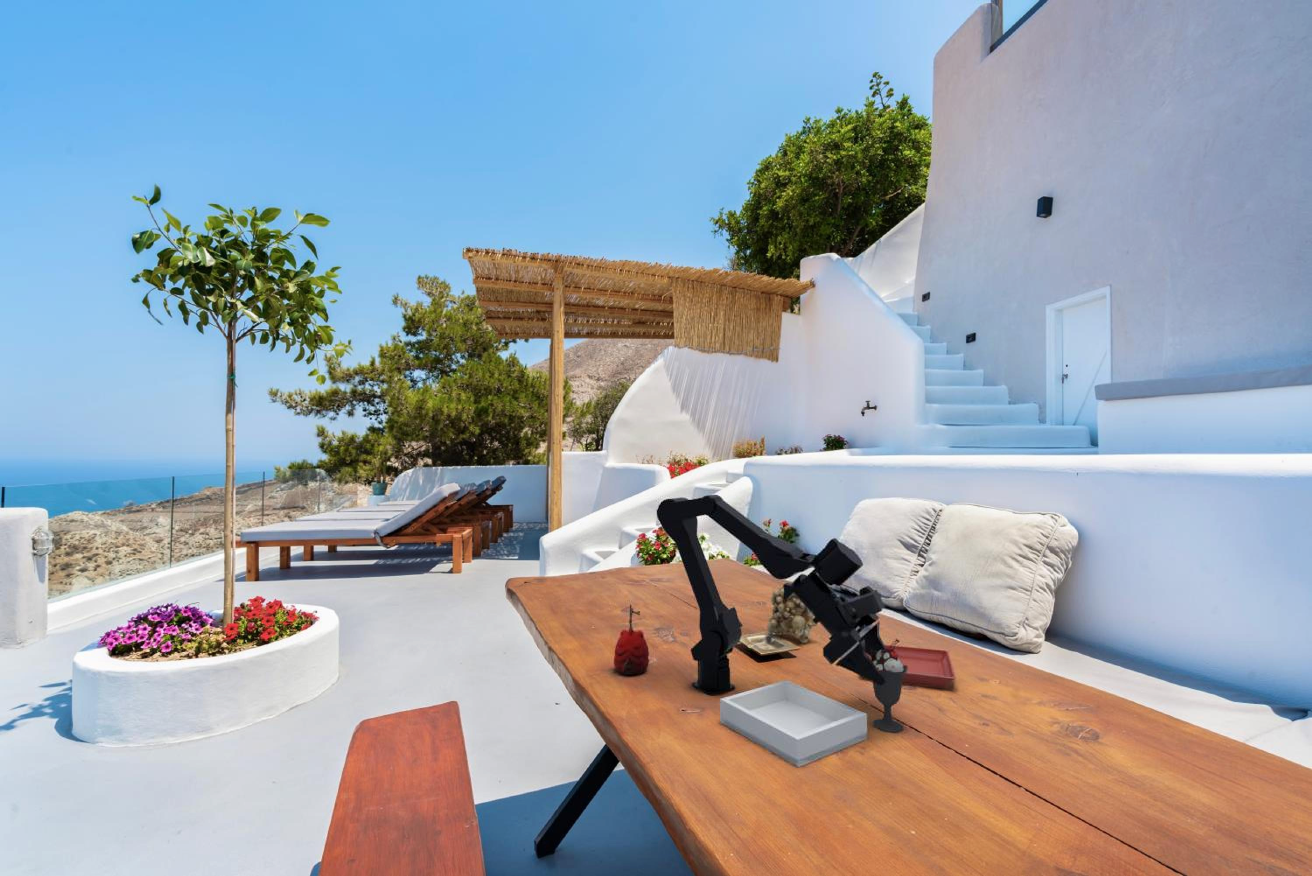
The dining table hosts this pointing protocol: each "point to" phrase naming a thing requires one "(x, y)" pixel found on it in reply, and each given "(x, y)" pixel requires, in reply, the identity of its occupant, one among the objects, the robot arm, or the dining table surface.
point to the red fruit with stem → (631, 651)
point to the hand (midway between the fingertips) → (888, 675)
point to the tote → (793, 721)
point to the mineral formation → (790, 616)
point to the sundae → (888, 685)
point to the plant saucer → (925, 666)
